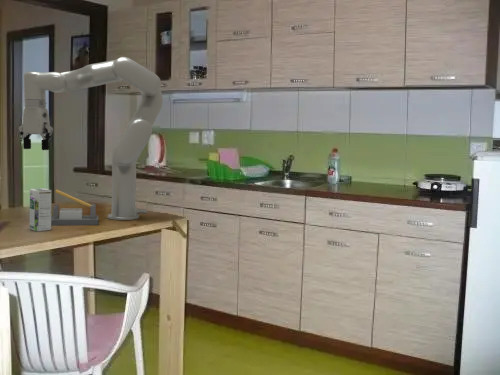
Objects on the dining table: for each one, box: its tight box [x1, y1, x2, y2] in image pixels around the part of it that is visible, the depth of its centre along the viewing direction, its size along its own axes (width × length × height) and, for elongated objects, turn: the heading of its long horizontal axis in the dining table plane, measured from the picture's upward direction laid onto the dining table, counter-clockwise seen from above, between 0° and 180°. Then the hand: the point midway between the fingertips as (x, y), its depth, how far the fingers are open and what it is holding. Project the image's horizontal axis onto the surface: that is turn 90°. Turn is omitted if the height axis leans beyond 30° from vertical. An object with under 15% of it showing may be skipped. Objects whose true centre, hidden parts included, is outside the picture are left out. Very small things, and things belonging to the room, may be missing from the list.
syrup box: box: [29, 187, 52, 232], centre depth 189 cm, size 6×6×14 cm
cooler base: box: [51, 203, 99, 226], centre depth 205 cm, size 18×10×7 cm, turn 106°
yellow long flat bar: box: [54, 188, 94, 208], centre depth 204 cm, size 16×3×1 cm, turn 107°
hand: (36, 149), depth 207 cm, fingers open, 9 cm apart
